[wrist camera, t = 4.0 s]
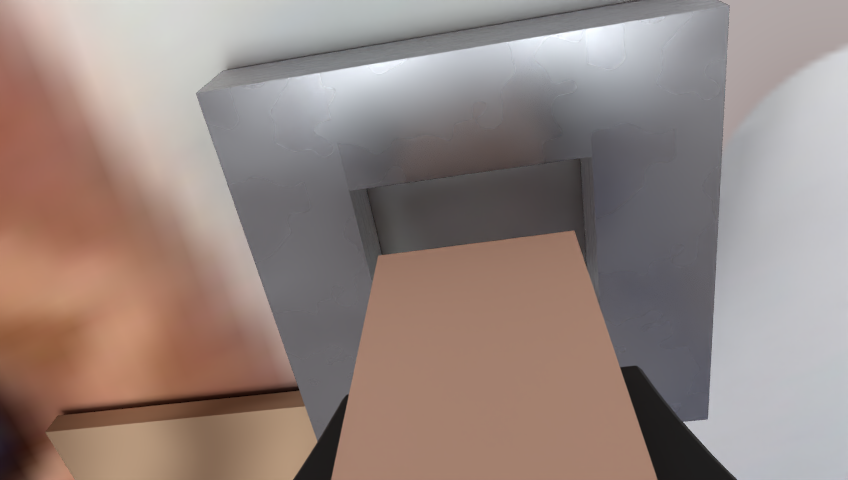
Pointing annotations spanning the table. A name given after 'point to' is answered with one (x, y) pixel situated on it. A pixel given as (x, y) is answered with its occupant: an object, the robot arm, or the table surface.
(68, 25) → the table surface
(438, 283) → the pinkish brown rectangular block
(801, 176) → the table surface
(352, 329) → the socket plate
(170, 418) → the walnut pad
